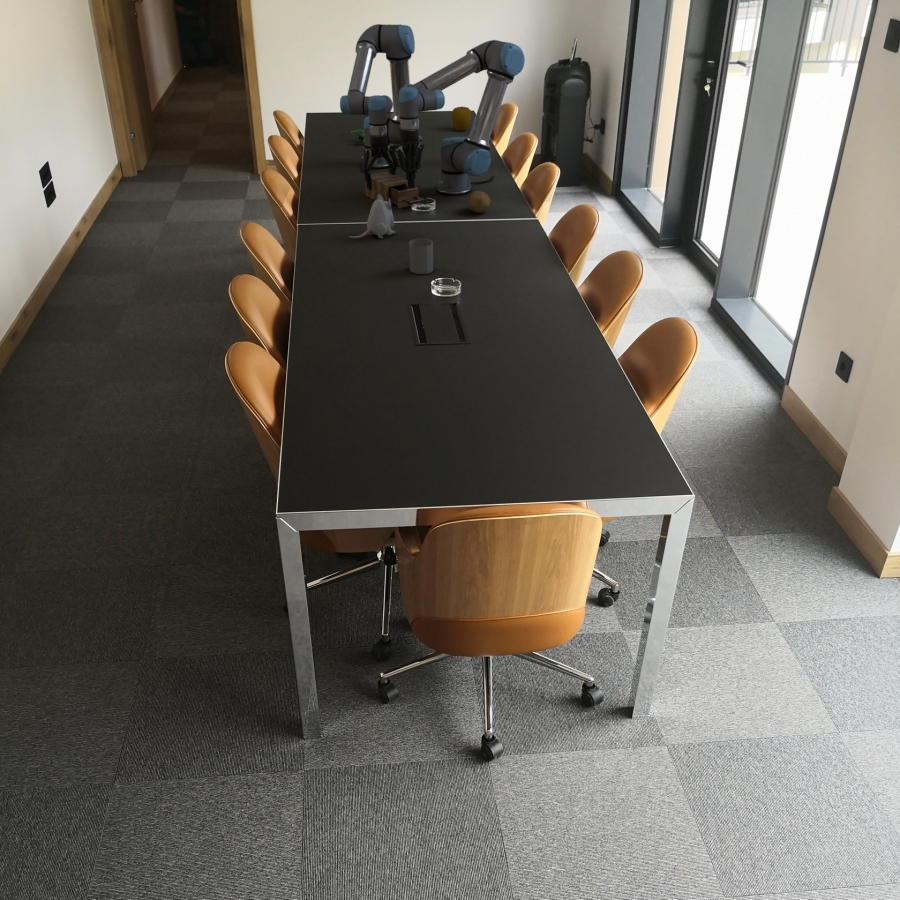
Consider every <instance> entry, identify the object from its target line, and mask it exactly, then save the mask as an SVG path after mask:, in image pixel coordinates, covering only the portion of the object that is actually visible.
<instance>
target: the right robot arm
mask: <svg viewBox="0 0 900 900" xmlns="http://www.w3.org/2000/svg"><path fill="white" fill-rule="evenodd" d="M525 58H526V57H525V54H524V51H523V49H522V48H521V46H519V45H517V44H515V43H512V42H508V41H501V40H497V39H492V40H488V41H485V42H482V43H480V44H478V45H476V46H474V47H472V48H471V49H469V50H467V51H466V55H463V56H461V57H460V58H458V59H456V60H455V61H453V62H451V63H449V64H448V65H446V66H444V67H442V68H440V69H439V70H436V71H435V72H433V73H431V74H430V75H428V76H426V77H425V78H422V79H420V80H419V81H417V82H414V83H410V84H406V85H405V86H403V88H401V89H400V90H399V113H400V128H401V130H400V138H401V143H400V144H399V146H398V147H395V148H394V151H395V153H396V155H397V158H399V160H398V162H399V166H400V169H401V171H402V172H403V173H404V172H405V180H407V181H408V187H409V188H411V189H412V188H415V180H416V178H417V177H416V173H417V172H418V170H420V167H421V161H422V155H423V150H424V149H425V145H424V144H421V143H420V141H419V139H420V133H419V132H420V131H419V130H420V129H419V130H418V129H417V128H418V120H419V113H423V112H431V111H438V110H441V109H443V108H444V106H445V105H446V96H445V93H444V92H443V91H444V90H445V89H447V88H449V87H451V86H452V85H454V84H456V83H458V82H459V81H461V80H463V79H465V78H467V77H469V76H470V75H472V74H479V73H481V72H482V71H483V72H484V71H486V74H487V77H488V78H487V80H486V81H487V82H486V84H485V87H484V91H483V93H482V95H481V99H480V102H479V105H478V108H477V112H476V114H475V118H474V120H473V124H472V126H471V128H470V132H469V135H467V136H451V137H445V138H442V140H441V143H440V170H441V171H440V175H439V179H438V182H437V186H436V191H437V192H438V193H439V194H441V195H445V196H461V195H462V196H463V195H467V194H470V193H472V192H471V191H472V185H474V184H484V183H489V182H491V181H493V179H494V175H492V176H491V177H490V179H487V180H481V181H470V178H469V176H472V177H480V176H482V175H484V174H485V173H486V172H487V171H488V170H489V169H490V166H491V164H492V163H491V162H492V158H491V153H490V151H491V145H490V142H489V141H490V138H491V136H492V132H493V130H494V126H495V124H496V122H497V121H496V120H497V118H498V115H499V111H500V109H501V106H502V103H503V100H504V97H505V95H506V91H507V88H508V85H511V84H512V83H513V81H514V79H515V76H518V75H519V74H520V73H521V72H522V71H523V69H524V68H525V67H524V66H525V61H526V59H525ZM404 158H405V159H404Z"/></svg>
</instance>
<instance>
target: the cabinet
mask: <svg viewBox="0 0 900 900" xmlns="http://www.w3.org/2000/svg"><path fill="white" fill-rule="evenodd" d="M402 184H405V185H407V186H408V180H406V178H402V177H400V176H398V175H393V174H390V173H389V172H387V171H384V172H383V171H382V172H378V173H371V188H372V189H368V188H367V182H366V181H365V180H364V185H365V186H364V188H365V189H364V190H365V197H366V198H369V199H371V200H373V201H375V200H377V195H378V194H379V195H380V196H381V197H382V198H383V201H387V202H388V203H389V187H392V186H397V185H402ZM394 205H395V204H394V203H392V202H391V206H394Z"/></svg>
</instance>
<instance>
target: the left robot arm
mask: <svg viewBox="0 0 900 900" xmlns="http://www.w3.org/2000/svg"><path fill="white" fill-rule="evenodd" d="M415 44H416V42H415V35H414V32H413V29H412V27H411V26H410V25H407V24H382V23H381V24H380V23H379V24H378V23H377V24H376V23H375V24H373V25H371V26H369V27H368V28H366V29H365V30H364V31H362V34H361V35H360V36H359V38H358V39H357V42H356V44H355V54H356V55H355V59H354V63H353V69H352V73H351V77H350V82H349V85H348V86H349V87H348V90H347V95H346V94H345V95H341V97H340V99H339V109H340V113H342V114H344V115H350V116H353V115H354V116H355V115H356V116H366V117H365V118H364V119H363V129H362V130H364V142H365V144H364V149H363V155H361V157H360V158H361V167H360V173H362V174H364V182H365V181H366V182H367V188H368V189H372V188H371V175H372V173H370V172H371V170H381V169H387V168H389V169H388V171H389V172H388V173H390V174H393V175H395V176H397V175H396V170H397V169H398V168H399V167H400V162H399V157H397V154H396V151H395V146H394V145H400V143H401V138H400V130H401V128H400V113H399V90H400V89H401V88H403V86H405V85H406V84H411V82H410V81H411V80H410V79H411V78H410V64H409V63H410V62H409V61H410V59H411V58H412V55H414V53H415V49H416V45H415ZM377 54H385V58H386V60H387V61H388V62H389V70H390V83H391V97H392V98H391V97H390V96H389V95H387V94H383V95H381V94H380V95H379V94H377V95H370V96H369V95H366V93H367V89H368V84H369V80H370V75H371V71H372V65H373V63H374V59H376V57H377ZM392 110H393V112H392V113H391V111H392ZM390 113H391V114H390ZM389 114H390V117H389V116H388V115H389ZM417 129H418V130H420V120H419V119H418V128H417ZM404 159H405V157H404Z"/></svg>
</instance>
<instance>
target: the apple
mask: <svg viewBox="0 0 900 900" xmlns="http://www.w3.org/2000/svg"><path fill="white" fill-rule="evenodd" d="M451 121H452V125H453V128H454V129H455V131H457V132H463V131H466V130H467V129H468V128H469V126H470V124H471V121H472V111H471V108H469V107H467V106H462V105H461V106H457V107H454V108H452V111H451Z"/></svg>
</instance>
